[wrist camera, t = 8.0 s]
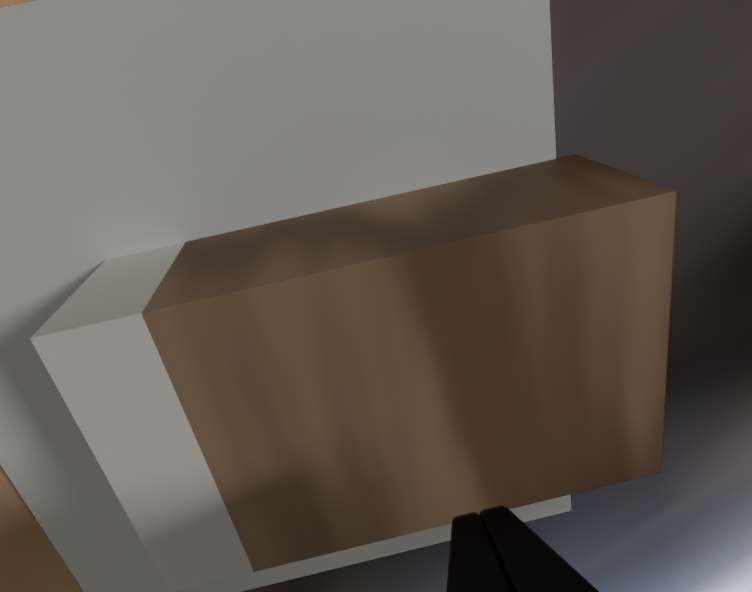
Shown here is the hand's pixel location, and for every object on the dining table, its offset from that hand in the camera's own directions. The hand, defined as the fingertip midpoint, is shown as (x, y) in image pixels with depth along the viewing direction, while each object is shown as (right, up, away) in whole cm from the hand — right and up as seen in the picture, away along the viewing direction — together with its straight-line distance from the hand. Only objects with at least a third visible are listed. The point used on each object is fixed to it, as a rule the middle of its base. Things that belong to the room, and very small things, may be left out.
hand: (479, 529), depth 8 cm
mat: (-5, +2, +7) cm, 8 cm away
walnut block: (+4, +3, +5) cm, 7 cm away
